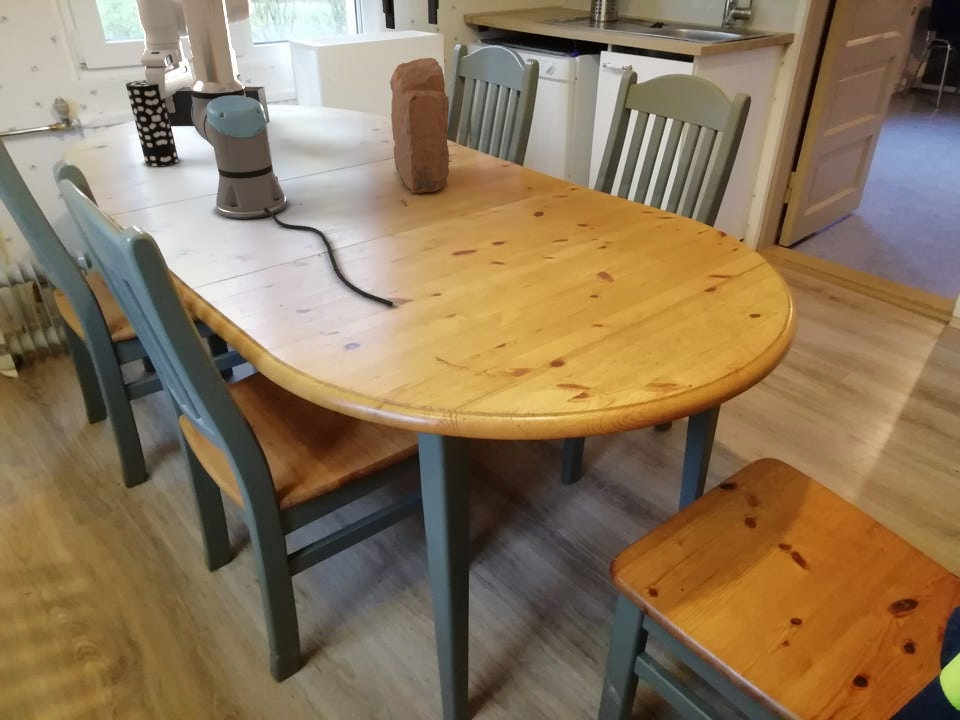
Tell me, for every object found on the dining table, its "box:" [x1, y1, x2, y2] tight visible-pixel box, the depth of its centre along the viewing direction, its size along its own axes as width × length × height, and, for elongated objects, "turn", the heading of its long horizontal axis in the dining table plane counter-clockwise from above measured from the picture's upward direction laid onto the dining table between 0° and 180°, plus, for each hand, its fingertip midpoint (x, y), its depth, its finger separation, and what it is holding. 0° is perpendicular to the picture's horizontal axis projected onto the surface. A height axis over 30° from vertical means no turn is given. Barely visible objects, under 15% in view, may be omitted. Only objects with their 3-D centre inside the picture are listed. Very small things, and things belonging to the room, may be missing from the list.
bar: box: [167, 86, 271, 127], centre depth 187 cm, size 27×6×9 cm, turn 89°
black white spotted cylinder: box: [125, 79, 179, 167], centre depth 181 cm, size 8×8×20 cm
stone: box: [389, 57, 450, 194], centre depth 168 cm, size 22×11×28 cm, turn 18°
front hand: (412, 26), depth 172 cm, fingers open, 13 cm apart
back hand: (178, 109), depth 188 cm, fingers closed on bar, 6 cm apart
